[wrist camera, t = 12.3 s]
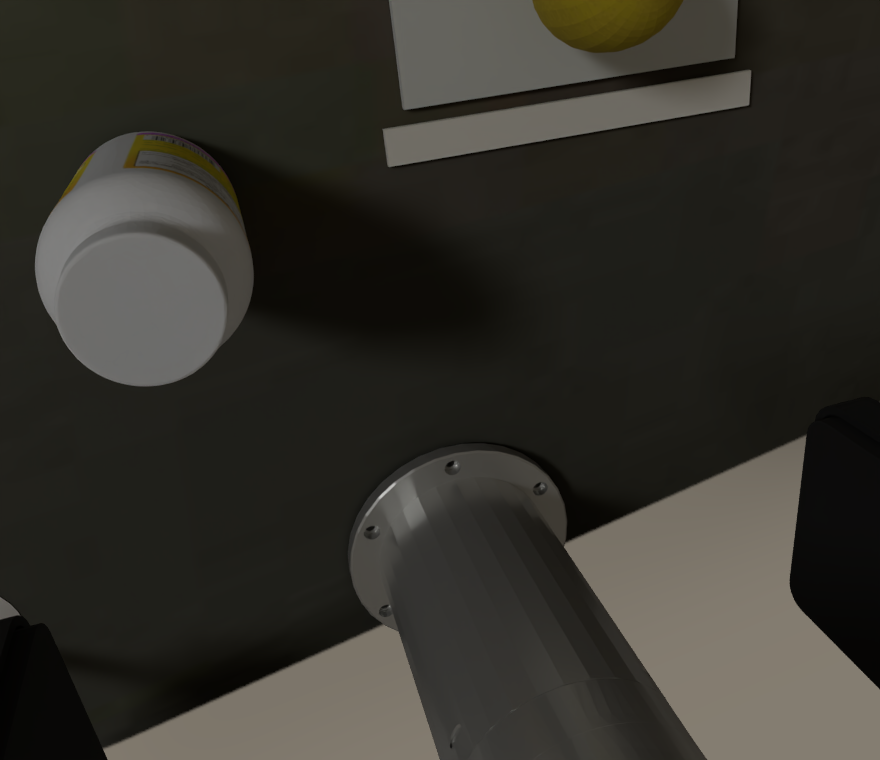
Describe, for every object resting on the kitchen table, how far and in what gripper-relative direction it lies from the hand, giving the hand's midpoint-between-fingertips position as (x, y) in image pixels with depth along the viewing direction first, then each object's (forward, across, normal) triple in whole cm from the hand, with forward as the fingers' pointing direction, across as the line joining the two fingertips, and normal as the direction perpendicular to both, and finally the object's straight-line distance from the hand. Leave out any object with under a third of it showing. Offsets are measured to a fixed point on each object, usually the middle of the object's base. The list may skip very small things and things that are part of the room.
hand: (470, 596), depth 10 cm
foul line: (+28, -14, 0) cm, 32 cm away
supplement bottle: (+28, +5, +1) cm, 29 cm away
